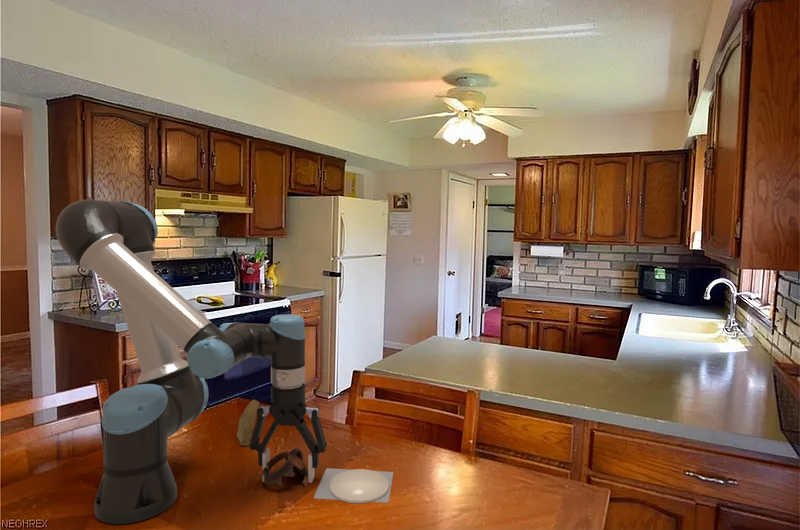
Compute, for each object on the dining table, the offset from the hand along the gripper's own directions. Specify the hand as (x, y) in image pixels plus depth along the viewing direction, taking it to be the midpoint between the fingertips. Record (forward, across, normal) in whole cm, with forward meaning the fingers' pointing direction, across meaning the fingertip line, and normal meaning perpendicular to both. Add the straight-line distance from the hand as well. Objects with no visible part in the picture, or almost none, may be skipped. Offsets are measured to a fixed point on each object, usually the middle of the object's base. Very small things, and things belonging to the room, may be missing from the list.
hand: (288, 479), depth 113 cm
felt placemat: (+1, +16, -1) cm, 16 cm away
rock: (+1, -18, +21) cm, 28 cm away
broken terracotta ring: (+1, 0, 0) cm, 1 cm away
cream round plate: (0, +16, -2) cm, 17 cm away
